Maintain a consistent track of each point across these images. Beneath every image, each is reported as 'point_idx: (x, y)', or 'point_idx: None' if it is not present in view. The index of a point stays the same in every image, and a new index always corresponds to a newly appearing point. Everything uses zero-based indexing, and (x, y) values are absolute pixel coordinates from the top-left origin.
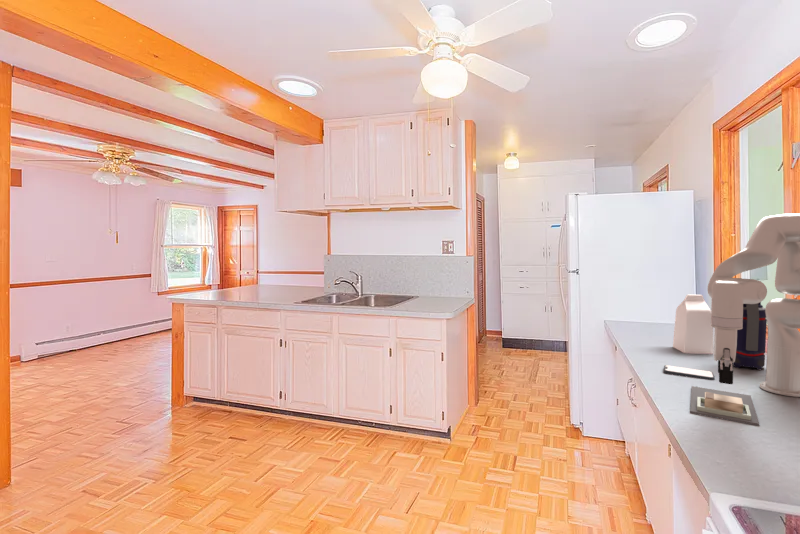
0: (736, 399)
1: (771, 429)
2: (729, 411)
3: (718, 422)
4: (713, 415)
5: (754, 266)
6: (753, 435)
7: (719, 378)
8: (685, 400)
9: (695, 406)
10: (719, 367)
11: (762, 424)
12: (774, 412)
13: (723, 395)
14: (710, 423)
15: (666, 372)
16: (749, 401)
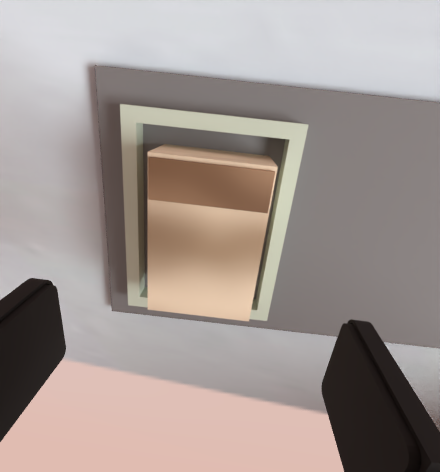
0: (214, 298)
1: (105, 328)
2: (134, 242)
3: (54, 182)
4: (103, 173)
5: None
6: (4, 272)
7: (6, 299)
8: (308, 58)
9: (186, 102)
10: (365, 373)
11: (137, 316)
12: (288, 370)
13: (255, 255)
14: (16, 149)
15: None
16: None
